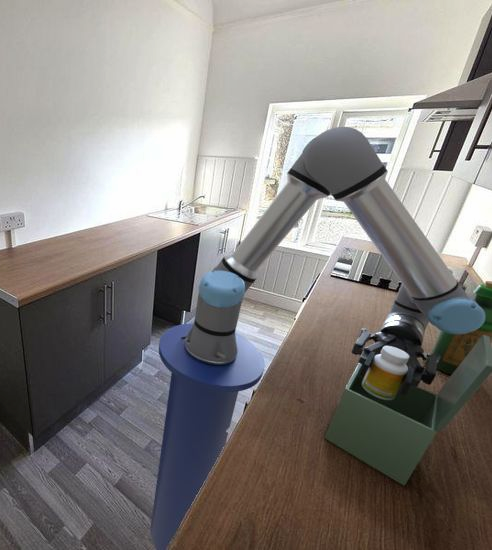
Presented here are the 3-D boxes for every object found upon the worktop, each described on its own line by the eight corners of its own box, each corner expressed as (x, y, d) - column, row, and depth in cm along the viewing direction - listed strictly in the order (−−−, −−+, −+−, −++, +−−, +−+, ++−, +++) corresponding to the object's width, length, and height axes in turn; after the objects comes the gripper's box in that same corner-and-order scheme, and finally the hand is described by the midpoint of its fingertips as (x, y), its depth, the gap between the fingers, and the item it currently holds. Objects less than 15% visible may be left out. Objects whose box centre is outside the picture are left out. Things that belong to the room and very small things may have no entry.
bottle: (456, 382, 83) (509, 292, 73) (414, 359, 93) (455, 276, 82) (482, 378, 85) (537, 290, 75) (438, 355, 95) (482, 275, 85)
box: (324, 438, 64) (344, 388, 59) (340, 407, 72) (359, 361, 67) (404, 486, 55) (436, 432, 50) (411, 444, 63) (440, 395, 58)
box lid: (487, 364, 44) (495, 368, 43) (482, 334, 52) (489, 336, 52) (434, 428, 50) (441, 432, 49) (438, 392, 58) (444, 394, 58)
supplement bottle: (397, 405, 57) (418, 364, 53) (363, 393, 59) (381, 354, 56) (390, 388, 61) (410, 349, 58) (359, 378, 64) (376, 340, 60)
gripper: (448, 368, 65) (444, 426, 50) (349, 332, 77) (322, 369, 62) (464, 340, 62) (465, 391, 47) (359, 306, 74) (333, 339, 59)
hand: (384, 379), depth 55 cm, fingers closed on supplement bottle, 5 cm apart
